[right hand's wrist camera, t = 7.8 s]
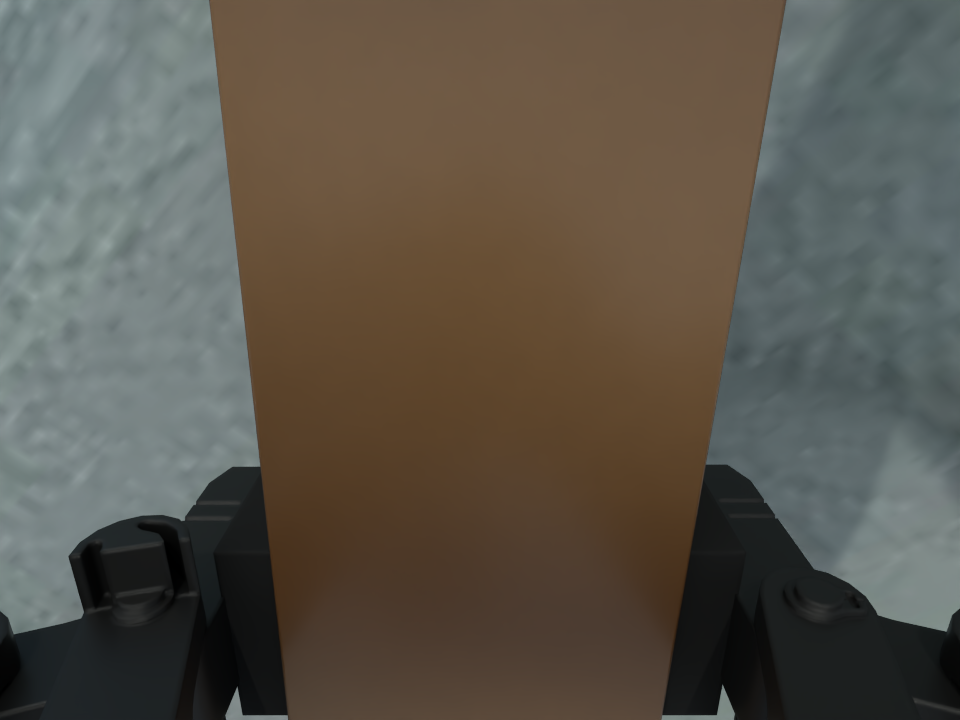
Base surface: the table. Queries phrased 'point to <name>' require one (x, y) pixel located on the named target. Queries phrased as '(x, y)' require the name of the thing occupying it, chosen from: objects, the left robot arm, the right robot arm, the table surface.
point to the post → (487, 334)
